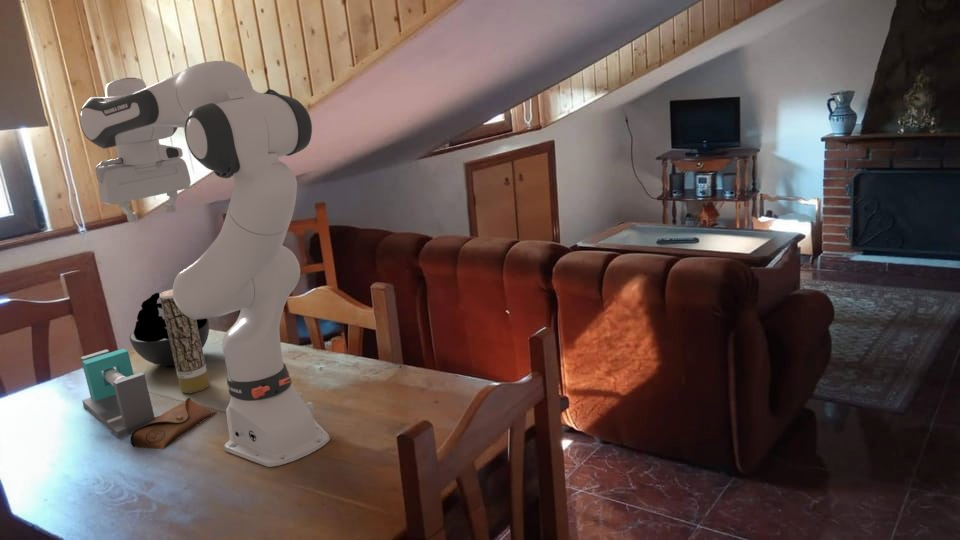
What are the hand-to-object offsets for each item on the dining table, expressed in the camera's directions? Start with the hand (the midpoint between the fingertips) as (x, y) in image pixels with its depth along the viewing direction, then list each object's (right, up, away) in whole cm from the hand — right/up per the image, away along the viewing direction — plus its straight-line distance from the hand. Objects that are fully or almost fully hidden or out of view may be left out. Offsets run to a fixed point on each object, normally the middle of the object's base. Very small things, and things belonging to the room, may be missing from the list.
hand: (152, 216), depth 166 cm
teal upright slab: (-12, -41, +8) cm, 43 cm away
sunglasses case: (+7, -47, -4) cm, 48 cm away
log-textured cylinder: (+3, -41, +17) cm, 45 cm away
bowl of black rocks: (-9, -38, +35) cm, 52 cm away
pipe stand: (-10, -45, +7) cm, 47 cm away
